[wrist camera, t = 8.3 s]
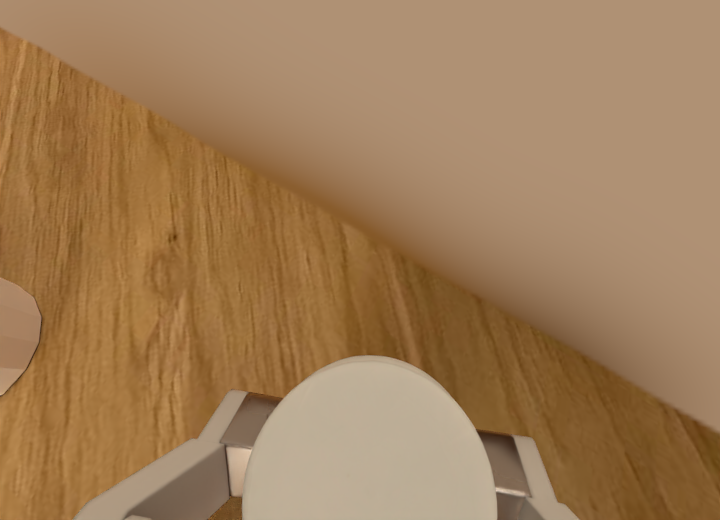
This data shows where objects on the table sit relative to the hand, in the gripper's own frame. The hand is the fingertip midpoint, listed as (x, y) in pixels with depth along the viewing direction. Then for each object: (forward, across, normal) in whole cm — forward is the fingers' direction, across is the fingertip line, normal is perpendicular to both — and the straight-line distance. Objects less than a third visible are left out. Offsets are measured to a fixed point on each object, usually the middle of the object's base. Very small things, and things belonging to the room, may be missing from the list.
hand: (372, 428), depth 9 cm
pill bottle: (+3, 0, +4) cm, 5 cm away
